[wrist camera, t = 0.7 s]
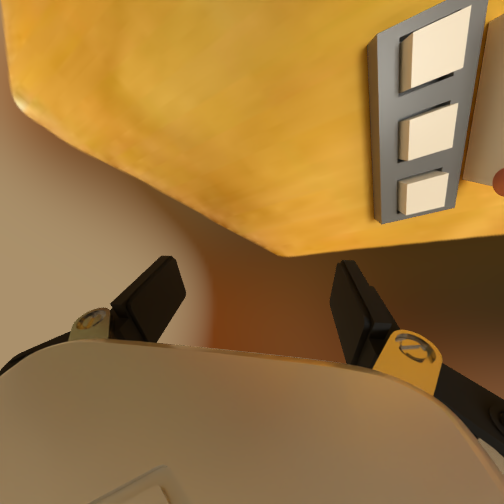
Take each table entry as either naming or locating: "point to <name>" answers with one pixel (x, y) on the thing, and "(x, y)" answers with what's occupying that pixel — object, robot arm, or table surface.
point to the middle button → (427, 132)
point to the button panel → (433, 96)
